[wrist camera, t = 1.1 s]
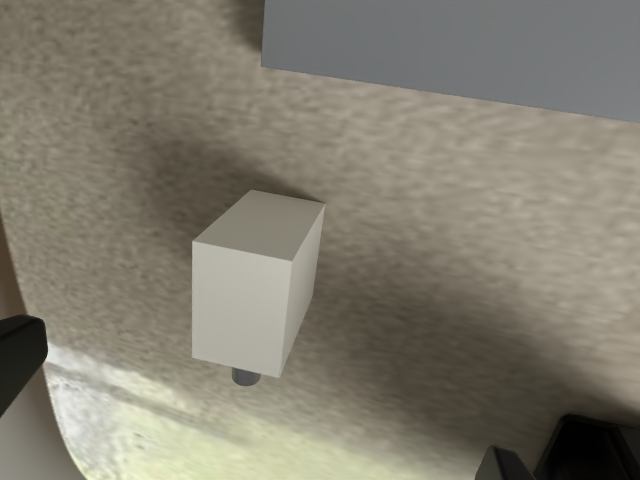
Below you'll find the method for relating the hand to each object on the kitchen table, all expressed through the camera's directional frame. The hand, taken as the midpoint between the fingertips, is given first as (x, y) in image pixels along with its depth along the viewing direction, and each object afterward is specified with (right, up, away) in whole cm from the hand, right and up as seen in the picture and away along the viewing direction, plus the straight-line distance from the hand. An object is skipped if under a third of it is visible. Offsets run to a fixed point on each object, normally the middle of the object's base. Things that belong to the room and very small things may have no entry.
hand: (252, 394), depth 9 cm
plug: (0, +3, +13) cm, 13 cm away
